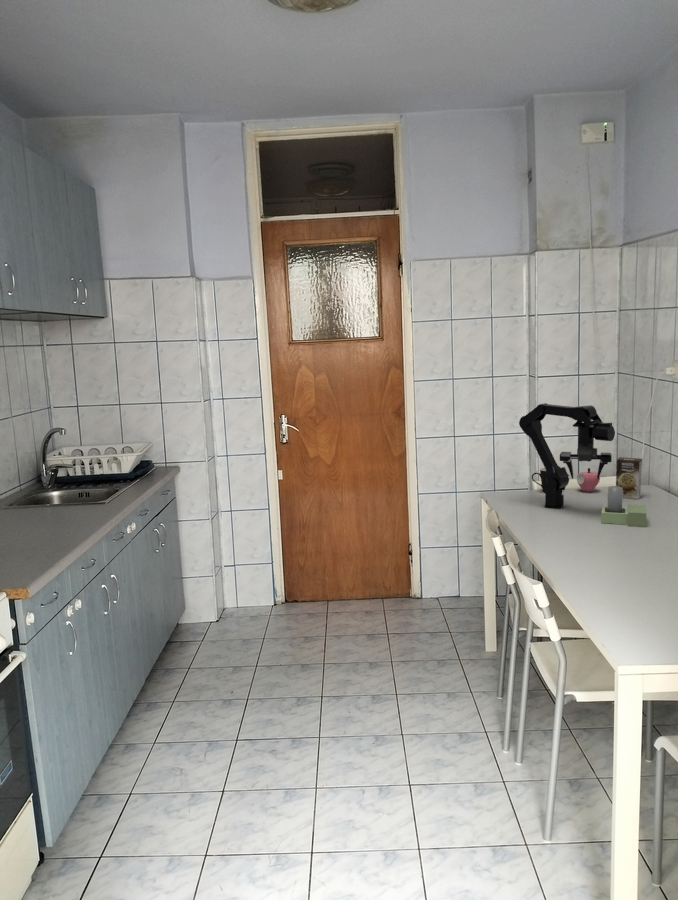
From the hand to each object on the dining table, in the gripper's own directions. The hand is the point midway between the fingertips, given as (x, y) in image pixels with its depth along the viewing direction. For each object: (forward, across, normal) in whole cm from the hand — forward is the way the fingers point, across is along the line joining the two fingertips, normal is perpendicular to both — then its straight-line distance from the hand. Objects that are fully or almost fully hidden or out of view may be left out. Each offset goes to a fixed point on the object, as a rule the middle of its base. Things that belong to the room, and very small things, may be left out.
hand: (585, 478), depth 282 cm
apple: (+13, 0, +35) cm, 37 cm away
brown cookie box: (+13, +16, +28) cm, 35 cm away
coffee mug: (+13, -17, +31) cm, 38 cm away
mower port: (+13, +14, -11) cm, 22 cm away
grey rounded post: (+13, +11, -11) cm, 20 cm away
